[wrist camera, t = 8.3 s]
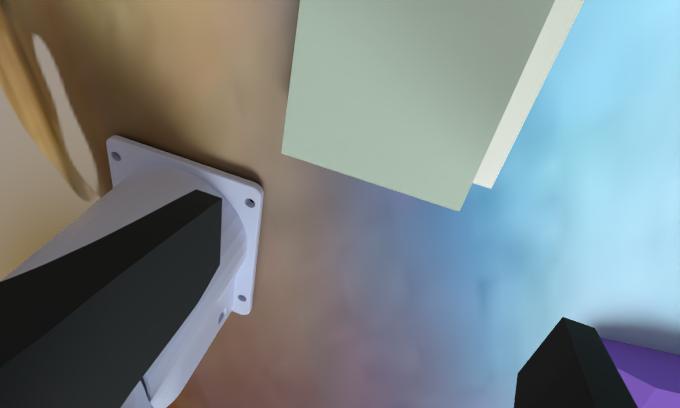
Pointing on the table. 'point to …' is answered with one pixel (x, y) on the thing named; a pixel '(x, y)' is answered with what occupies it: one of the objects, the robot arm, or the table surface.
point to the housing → (406, 88)
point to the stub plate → (528, 88)
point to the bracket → (647, 374)
